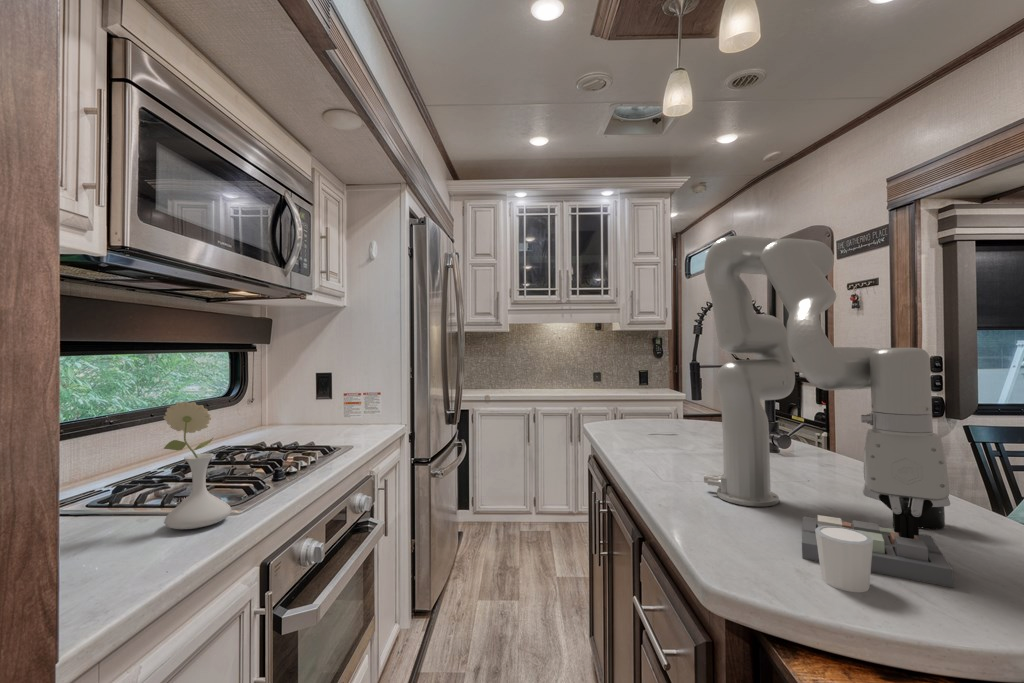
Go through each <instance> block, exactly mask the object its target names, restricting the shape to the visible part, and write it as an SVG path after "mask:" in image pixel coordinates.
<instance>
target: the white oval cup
mask: <svg viewBox="0 0 1024 683" xmlns="http://www.w3.org/2000/svg"><path fill="white" fill-rule="evenodd" d="M815 532H816V539H817V547H818V555H819V561H818V563H819V568H820V576H821V580H822V581H823V582H824V583H825V584H827V585H829V586H830V587H833V588H835V589H837V590H841V591H845V592H850V593H865V592H868V591H869V589H870V583H871V573H872V572H871V561H872V549H873V539H872V538H871V537H870V536H868V535H867V534H865V533H862V532H860V531H857V530H853V529H849V528H845V527H838V526H821V527H817V528H816V529H815Z"/></svg>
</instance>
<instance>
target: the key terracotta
mask: <svg viewBox="0 0 1024 683" xmlns="http://www.w3.org/2000/svg"><path fill="white" fill-rule="evenodd" d="M894 536H897V537H900V536H899V534H898V533H893V532H890V543H891V544H893V545H895V540H894ZM914 539H916V540H919V539H918V537H917V536H914Z"/></svg>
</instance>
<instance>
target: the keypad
mask: <svg viewBox="0 0 1024 683" xmlns="http://www.w3.org/2000/svg"><path fill="white" fill-rule="evenodd" d="M821 526H828V525H822V524H818V517H817V518H816V517H809V516H805V515H804V516H802V531H801V532H802V534H801V558H802V559H804V560H810V561H816V562H819V555H818V547H817V539H816V532H815V529H816V528H817V527H821ZM842 527H845V528H849V529H853V530H860V531H866V532H872V533H878V534H882V537H883V539H884V547H885V554H882V553H876V552H872V561H871V573H876V574H881V575H886V576H887V575H888V576H892V577H897V578H901V579H907V580H912V581H917V582H922V583H928V584H932V585H936V586H942V587H948V588H952V589H953V588H954V572H953V571H954V569H953V568H952V566H951V565H950V563H949V562H948V560H947V559H946V557H945V556H944V554H943V553H942V551H941V550H940V548H939V546H938V545H937V544H936V541H935V540H934V538H933V537H932V536H931V535H927V534H920V533H919V536H918V535H914V536H917V537H918V539H919V540H916V539H910V538H904V537H897V536H894V540H895V545H893V544H891V543H890V532H893V533H898V532H894V529H893V528H887V527H881V526H879V524H878V523H875V522H874V523H873V522H867V521H860V520H855V519H853V520H852V523H851V522H847V521H842Z"/></svg>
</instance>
